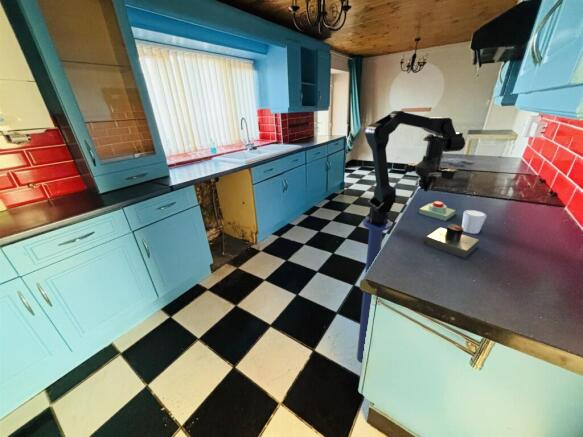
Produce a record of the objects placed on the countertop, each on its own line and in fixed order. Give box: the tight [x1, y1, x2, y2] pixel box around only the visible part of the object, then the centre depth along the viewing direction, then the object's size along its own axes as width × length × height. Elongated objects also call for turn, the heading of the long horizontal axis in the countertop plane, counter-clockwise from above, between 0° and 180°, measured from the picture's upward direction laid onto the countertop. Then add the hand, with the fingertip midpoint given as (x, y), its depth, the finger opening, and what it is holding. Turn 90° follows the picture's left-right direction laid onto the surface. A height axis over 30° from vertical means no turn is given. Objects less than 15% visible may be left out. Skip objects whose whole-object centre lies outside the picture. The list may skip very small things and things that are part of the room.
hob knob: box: [445, 224, 464, 241], centre depth 79 cm, size 4×4×4 cm
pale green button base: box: [418, 202, 456, 222], centre depth 103 cm, size 11×9×4 cm
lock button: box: [433, 200, 445, 208], centre depth 102 cm, size 4×4×2 cm
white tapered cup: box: [461, 209, 487, 234], centre depth 88 cm, size 7×7×7 cm
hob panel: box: [425, 227, 480, 259], centre depth 80 cm, size 12×10×3 cm
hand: (425, 191), depth 98 cm, fingers closed
